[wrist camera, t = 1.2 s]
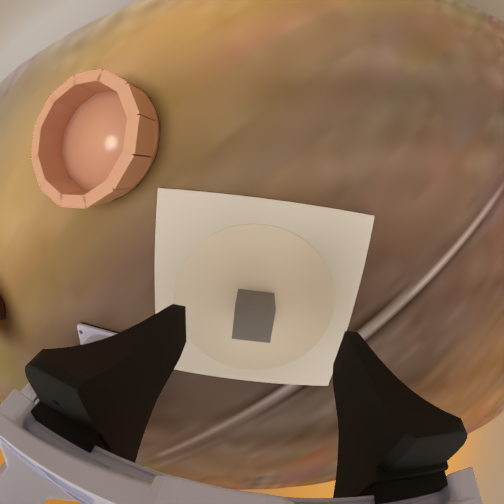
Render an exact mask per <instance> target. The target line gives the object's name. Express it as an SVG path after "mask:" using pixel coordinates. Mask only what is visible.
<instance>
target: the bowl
mask: <svg viewBox="0 0 504 504" xmlns="http://www.w3.org/2000/svg"><path fill="white" fill-rule="evenodd" d="M159 138H160V126H159V119H158V115H157V112H156V109H155V107H154V105H153V103H152V102H151V100H150V99H149V98H148V97H147V95H146V94H145V92H143V91H141V90H140V89H138V88H136V87H135V86H133V85H132V84H130V83H128V82H127V81H125V80H123V79H121V78H120V77H118V76H116V75H114V74H112V73H110V72H109V71H107V70H105V69H98V70H93V71H87V72H83V73H78V74H75V75H73V76H72V77H71V78H69V79H68V80H67V81H66V82H65V83H63V84H62V85H61V86H60V87H59V88H58V89H56V90H55V91H54V92H53V93H52V94H51V96H49V98H48V100H47V102H46V104H45V105H44V107H43V109H42V111H41V113H40V115H39V117H38V119H37V121H36V123H35V126H34V133H33V141H32V151H31V158H32V159H31V161H32V165H33V168H34V172H35V175H36V178H37V182H38V185H39V187H40V189H41V190H42V191H43V192H44V193H45V194H46V195H47V196H48V197H49V198H51V199H52V200H53V201H54V202H55V203H56V204H57V205H58V206H60V207H71V208H84V209H86V208H90V207H93V206H97V205H101V204H105V203H109V202H111V201H112V200H114V199H116V198H119V197H121V196H123V195H126V194H127V193H129V192H130V191H132V190H133V189H134V188H135V187H136V186H137V185H138V184H139V183H140V182H141V181H142V180H143V179H144V177H145V176H146V174H147V173H148V171H149V170H150V168H151V166H152V164H153V162H154V159H155V157H156V153H157V150H158V145H159Z"/></svg>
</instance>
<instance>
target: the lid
mask: <svg viewBox="0 0 504 504" xmlns="http://www.w3.org/2000/svg"><path fill="white" fill-rule="evenodd" d="M174 304H176V305H181V306H185V309H186V336H187V337H188V339H189V340H190V341H191V342H192V343H193V344H194V345H195V346H196V347H197V348H198V349H199V350H200V351H201V352H203V353H204V354H205V355H207V356H208V357H210V358H212V359H214V360H215V361H217V362H220V363H222V364H225V365H227V366H231V367H234V368H239V369H245V370H265V369H271V368H276V367H280V366H283V365H286V364H288V363H291V362H293V361H295V360H297V359H299V358H300V357H302V356H303V355H305V354H306V353H308V352H309V351H310V350H311V349H312V348H313V347H314V346H315V345H316V344H317V343H318V342H319V341H320V340H321V338H322V337H323V335H324V334H325V332H326V331H327V329H328V327H329V325H330V322H331V319H332V316H333V313H334V307H335V288H334V283H333V279H332V276H331V274H330V271H329V269H328V267H327V265H326V263H325V262H324V260H323V259H322V257H321V256H320V255H319V253H318V252H317V251H316V250H315V249H314V248H313V247H312V246H311V245H310V244H309V243H308V242H307V241H305V240H304V239H302V238H301V237H299V236H298V235H296V234H294V233H292V232H290V231H288V230H286V229H283V228H280V227H277V226H272V225H267V224H254V223H253V224H241V225H236V226H231V227H228V228H225V229H222V230H220V231H218V232H216V233H214V234H212V235H210V236H209V237H207V238H206V239H204V240H203V241H201V242H200V243H199V244H198V245H197V246H196V247H195V248H194V249H193V250H192V251H191V253H190V254H189V255H188V256H187V258H186V259H185V261H184V262H183V264H182V266H181V267H180V270H179V272H178V275H177V278H176V282H175V286H174Z"/></svg>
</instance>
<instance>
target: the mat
mask: <svg viewBox="0 0 504 504" xmlns="http://www.w3.org/2000/svg"><path fill="white" fill-rule="evenodd" d="M373 222H374V216H373V215H369V214H364V213H358V212H353V211H347V210H341V209H335V208H329V207H323V206H316V205H310V204H303V203H296V202H289V201H282V200H275V199H267V198H259V197H251V196H243V195H234V194H225V193H215V192H205V191H194V190H183V189H170V188H158V195H157V211H156V232H155V314H156V313H158V312H160V311H161V310H163V309H165V308H166V307H168V306H170V305H172V304H174V286H175V282H176V278H177V275H178V272H179V270H180V267H181V266H182V264H183V262H184V261H185V259H186V258H187V256H188V255H189V254H190V253H191V251H192V250H193V249H194V248H195V247H196V246H197V245H198V244H199V243H200V242H201V241H203V240H204V239H206V238H207V237H209V236H210V235H212V234H214V233H216V232H218V231H220V230H222V229H225V228H228V227H231V226H236V225H241V224H253V223H254V224H267V225H272V226H277V227H280V228H283V229H286V230H288V231H290V232H292V233H294V234H296V235H298V236H299V237H301V238H302V239H304V240H305V241H307V242H308V243H309V244H310V245H311V246H312V247H313V248H314V249H315V250H316V251H317V252H318V253H319V255H320V256H321V257H322V259H323V260H324V262H325V263H326V265H327V267H328V269H329V271H330V274H331V276H332V279H333V283H334V288H335V307H334V313H333V316H332V319H331V322H330V325H329V327H328V329H327V331H326V332H325V334H324V335H323V337H322V338H321V340H320V341H319V342H318V343H317V344H316V345H315V346H314V347H313V348H312V349H311V350H310V351H309V352H308V353H306V354H305V355H303V356H302V357H300V358H299V359H297V360H295V361H293V362H291V363H288V364H286V365H283V366H280V367H276V368H271V369H265V370H245V369H239V368H234V367H231V366H227V365H225V364H222V363H220V362H217V361H215V360H214V359H212V358H210V357H208V356H207V355H205V354H204V353H203V352H201V351H200V350H199V349H198V348H197V347H196V346H195V345H194V344H193V343H192V342H191V341H190V340H189V339H188V337H187V336H186V344H185V346H184V349H183V352H182V354H181V356H180V359H179V361H178V362H177V364H176V366H175V368H174V369H175V370H180V371H186V372H191V373H197V374H203V375H209V376H216V377H223V378H230V379H238V380H247V381H256V382H267V383H279V384H295V385H320V386H328V384H329V381H330V379H331V376H332V373H333V363H334V361H335V358H336V355H337V352H338V350H339V347H340V344H341V341H342V338H343V335H344V332H345V331H347V328H348V325H349V321H350V318H351V315H352V311H353V308H354V304H355V300H356V297H357V293H358V289H359V285H360V281H361V277H362V273H363V269H364V265H365V261H366V256H367V252H368V247H369V242H370V237H371V232H372V227H373Z"/></svg>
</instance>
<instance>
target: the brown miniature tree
mask: <svg viewBox="0 0 504 504" xmlns="http://www.w3.org/2000/svg"><path fill="white" fill-rule="evenodd" d="M5 315H6V310H5V305H4V301H3V300H2V298H1V296H0V320H2V319H5Z"/></svg>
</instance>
